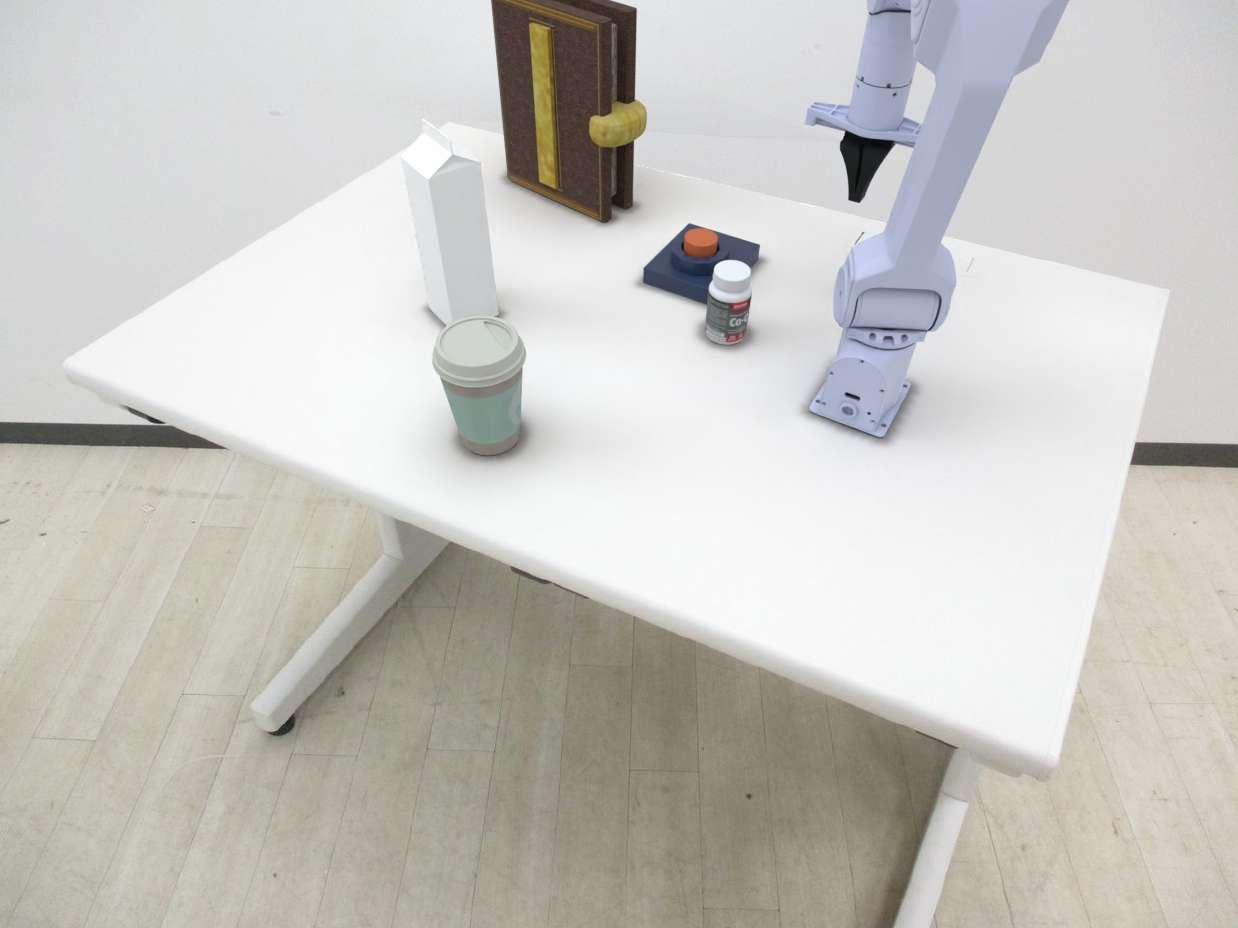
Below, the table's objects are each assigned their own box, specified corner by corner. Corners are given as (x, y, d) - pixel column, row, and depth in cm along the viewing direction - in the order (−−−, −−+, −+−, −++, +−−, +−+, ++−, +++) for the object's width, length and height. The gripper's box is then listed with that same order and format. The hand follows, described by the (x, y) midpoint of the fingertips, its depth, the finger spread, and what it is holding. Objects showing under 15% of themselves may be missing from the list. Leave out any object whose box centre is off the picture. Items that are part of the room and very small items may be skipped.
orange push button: (707, 262, 100) (708, 249, 99) (677, 253, 101) (678, 240, 100) (722, 246, 102) (723, 234, 101) (692, 237, 104) (693, 225, 103)
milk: (454, 334, 96) (421, 149, 80) (428, 309, 99) (392, 126, 83) (500, 315, 99) (477, 131, 83) (473, 290, 102) (447, 109, 86)
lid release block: (716, 308, 100) (719, 279, 97) (642, 283, 103) (643, 254, 100) (758, 259, 107) (762, 231, 104) (687, 237, 110) (690, 210, 108)
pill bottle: (731, 351, 94) (740, 288, 88) (696, 335, 96) (702, 272, 90) (753, 330, 97) (763, 268, 91) (718, 315, 99) (725, 253, 93)
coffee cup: (529, 466, 82) (519, 371, 73) (441, 465, 82) (420, 369, 73) (537, 407, 88) (528, 312, 79) (455, 405, 88) (437, 310, 79)
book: (496, 180, 121) (476, -12, 103) (538, 158, 125) (526, -29, 107) (614, 234, 111) (615, 32, 93) (654, 208, 115) (663, 11, 97)
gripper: (964, 78, 87) (929, 199, 97) (831, 50, 92) (810, 168, 102) (945, 103, 83) (910, 227, 93) (807, 72, 88) (787, 193, 98)
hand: (856, 198), depth 97 cm, fingers closed
